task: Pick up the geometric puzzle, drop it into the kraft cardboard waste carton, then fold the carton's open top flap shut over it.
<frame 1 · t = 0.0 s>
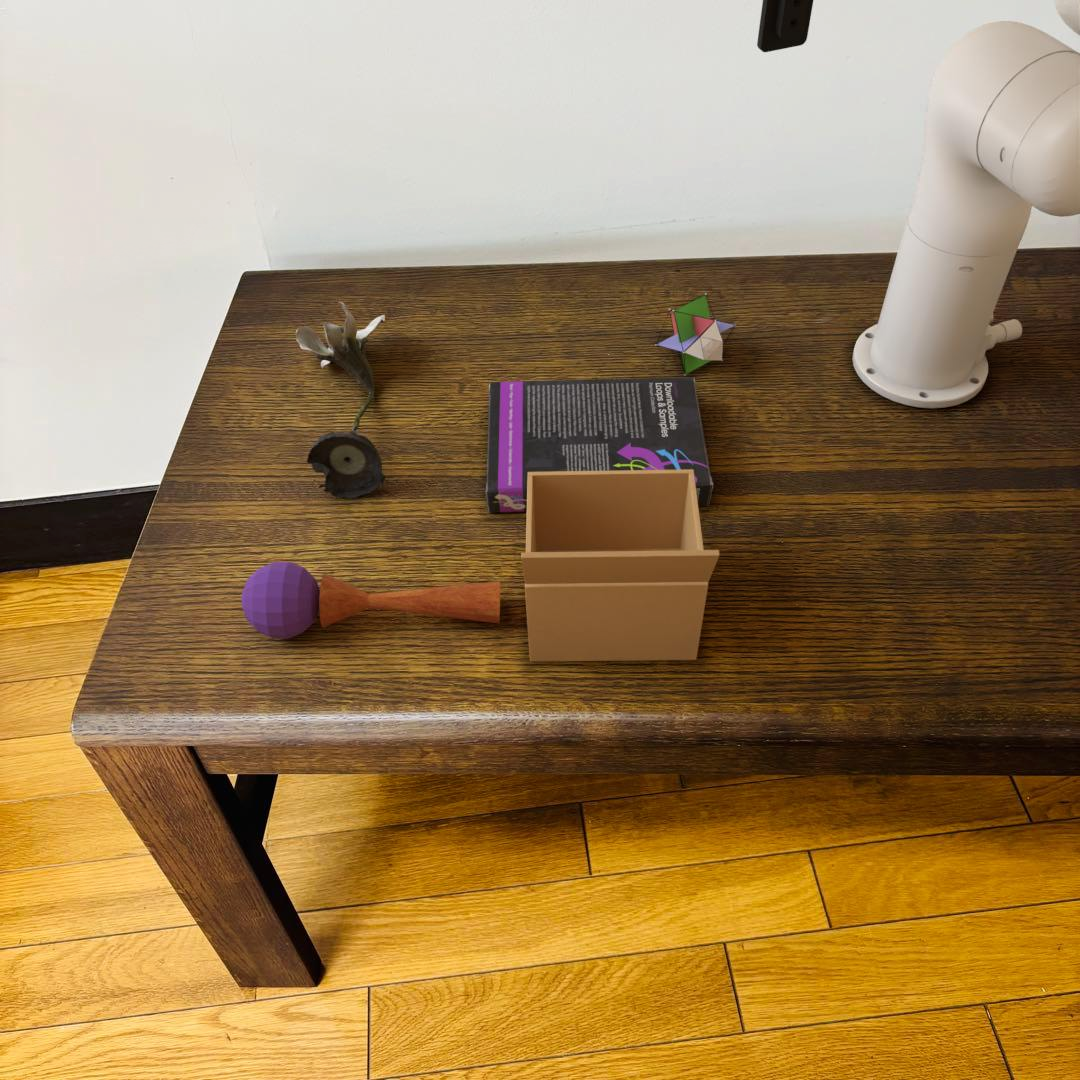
hand: (745, 16, 65), 37 cm above the table, tool pointing down, fingers open, 9 cm apart
geometric puzzle: (692, 362, 100), on the table
artificial flower: (349, 414, 96), on the table
kendama: (378, 620, 80), on the table
carton: (610, 602, 80), on the table
flap: (618, 567, 67), point 13 cm above the table, hinge at 110.0°
box: (595, 457, 91), on the table
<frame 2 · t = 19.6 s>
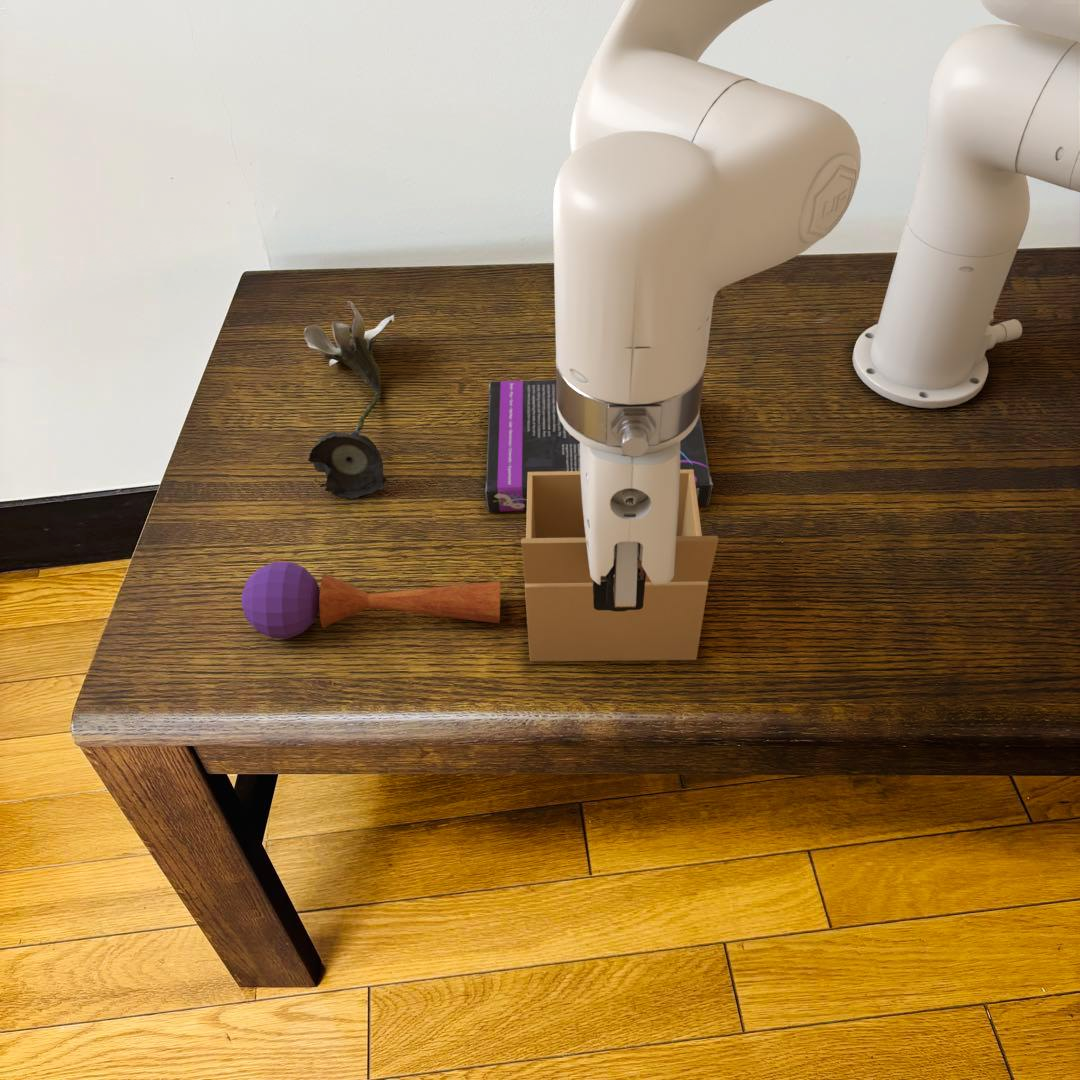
hand: (617, 600, 65), 12 cm above the table, tool pointing down, fingers closed
geometric puzzle: (610, 594, 78), point 2 cm above the table, touching carton
flap: (617, 560, 67), point 13 cm above the table, hinge at 99.2°, touching gripper
everything else where it was.
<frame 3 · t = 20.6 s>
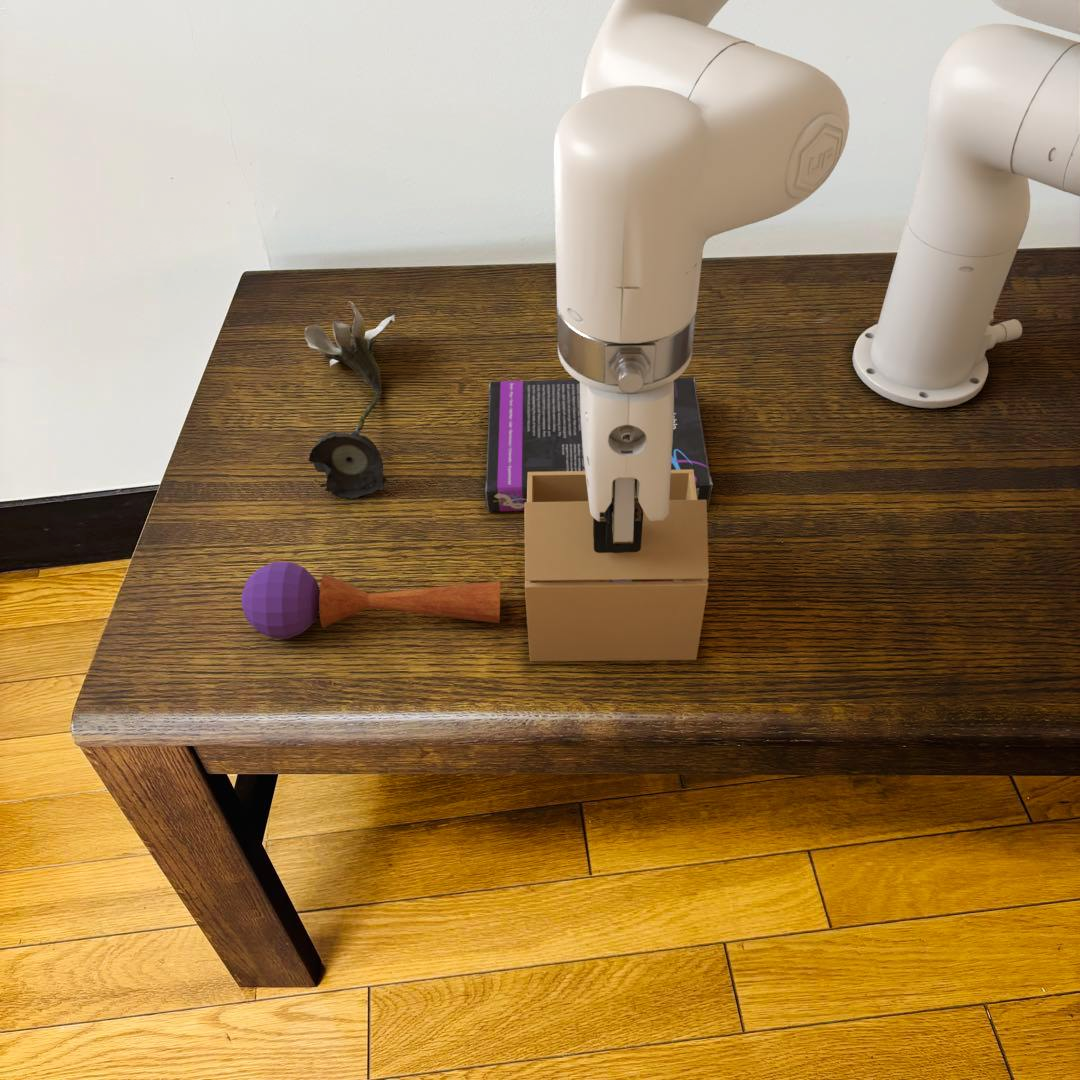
hand: (616, 543, 69), 12 cm above the table, tool pointing down, fingers closed
flap: (615, 540, 69), point 12 cm above the table, hinge at 34.5°
everything else where it was.
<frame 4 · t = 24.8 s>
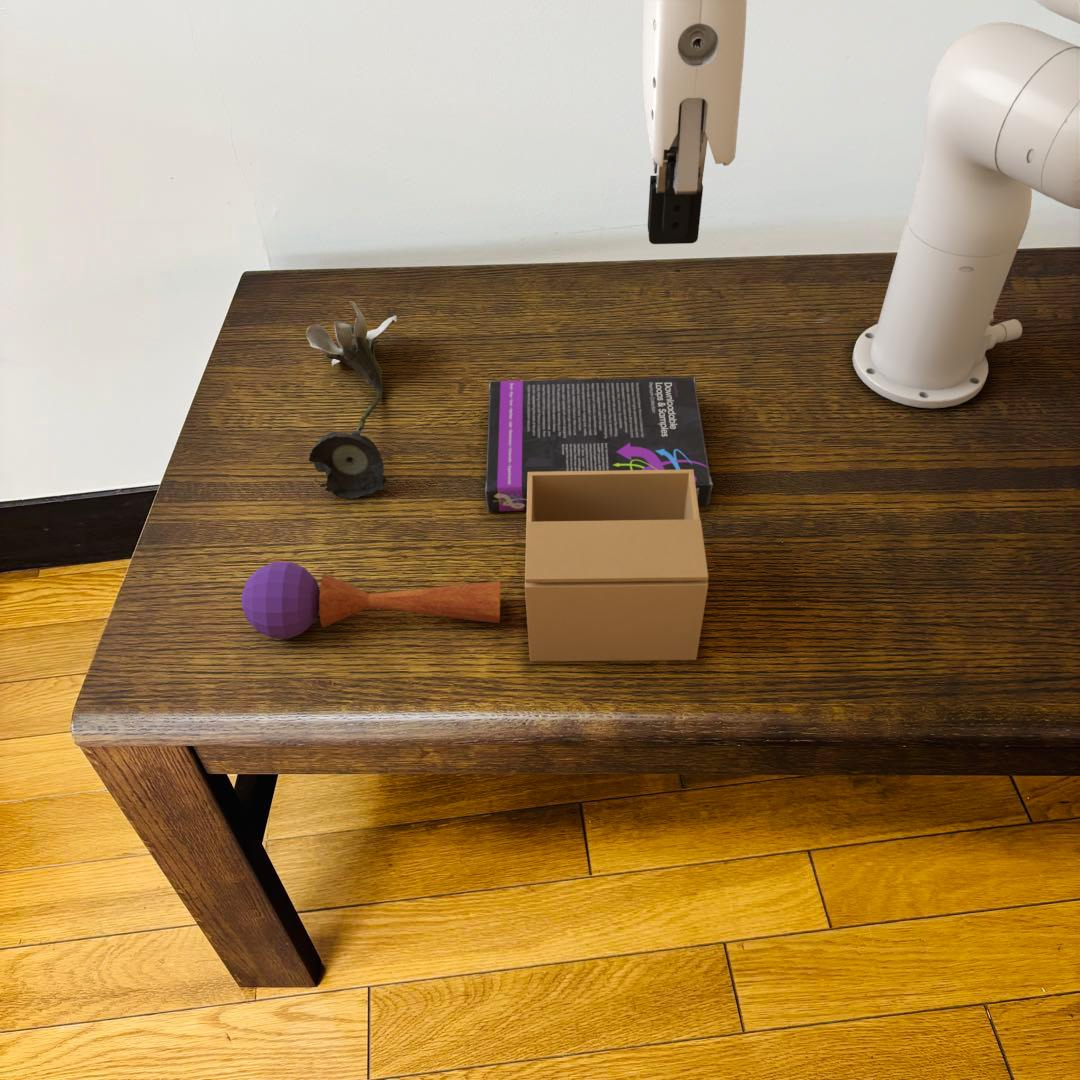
hand: (672, 236, 66), 27 cm above the table, tool pointing down, fingers closed
flap: (614, 550, 71), point 10 cm above the table, hinge at -1.5°
everything else where it was.
at the end: geometric puzzle inside the target area in the carton (0.8 cm from its centre), point 2.0 cm above the carton's base; flap at -2° (first picture: +110°) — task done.
